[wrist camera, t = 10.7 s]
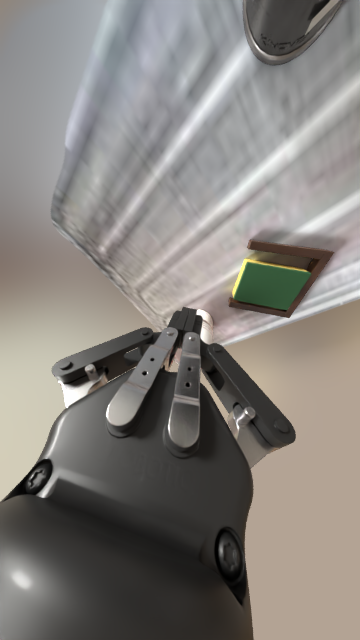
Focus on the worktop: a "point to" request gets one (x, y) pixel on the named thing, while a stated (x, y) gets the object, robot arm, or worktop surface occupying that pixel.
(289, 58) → the robot arm
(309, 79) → the worktop surface
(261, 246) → the sponge rack
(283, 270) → the sponge
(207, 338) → the white canister
